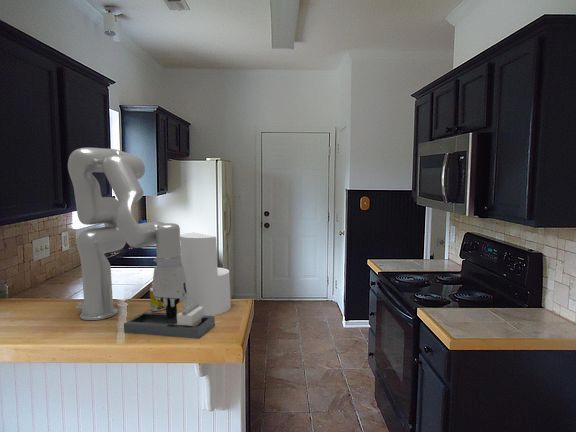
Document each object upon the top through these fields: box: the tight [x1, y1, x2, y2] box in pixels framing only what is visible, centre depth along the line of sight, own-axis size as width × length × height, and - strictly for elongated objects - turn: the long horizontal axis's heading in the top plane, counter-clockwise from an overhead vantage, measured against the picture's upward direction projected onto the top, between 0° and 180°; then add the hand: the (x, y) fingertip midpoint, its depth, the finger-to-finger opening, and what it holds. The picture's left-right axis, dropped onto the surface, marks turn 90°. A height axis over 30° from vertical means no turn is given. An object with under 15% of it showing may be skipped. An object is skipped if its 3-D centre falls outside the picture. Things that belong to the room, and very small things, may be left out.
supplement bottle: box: [149, 282, 166, 312], centre depth 161 cm, size 6×6×10 cm
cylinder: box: [180, 232, 232, 316], centre depth 159 cm, size 17×17×28 cm
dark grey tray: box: [123, 311, 216, 339], centre depth 140 cm, size 26×12×3 cm, turn 76°
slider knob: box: [177, 303, 204, 326], centre depth 138 cm, size 5×9×6 cm, turn 166°
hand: (171, 317), depth 140 cm, fingers closed
